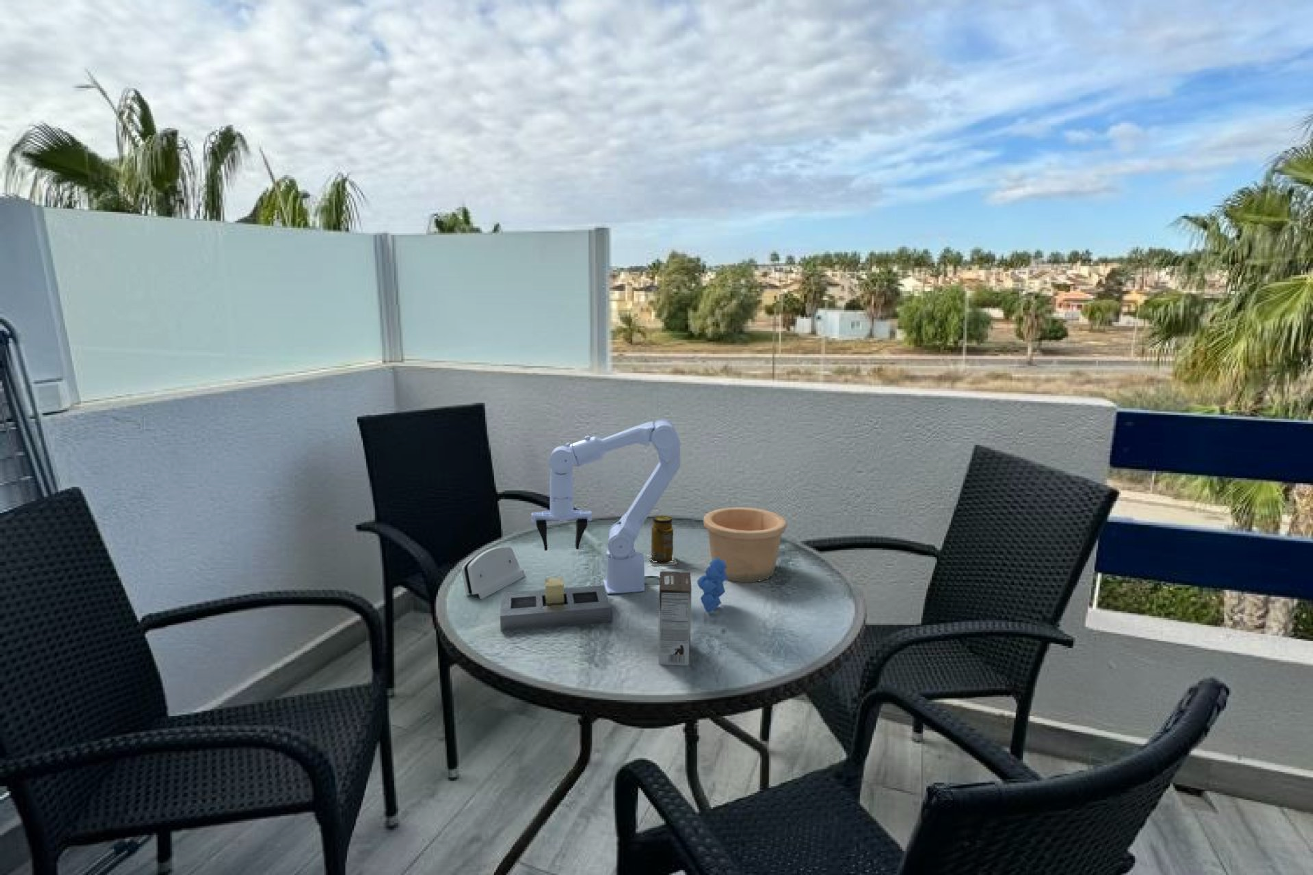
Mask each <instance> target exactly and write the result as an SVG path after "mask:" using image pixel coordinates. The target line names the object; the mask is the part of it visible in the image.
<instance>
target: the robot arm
mask: <svg viewBox="0 0 1313 875" xmlns="http://www.w3.org/2000/svg"><path fill="white" fill-rule="evenodd" d="M650 443H651V444H652V446H653V448H654V450H655V451H656V452H657V454H658V460H659V462H658V464H657V465H656V466H655V468H654V469H653V471H652V473H650V474H651V475H650V476H649V477H648V479H647V480H646V482H645V484H644V485H643V487H642V488H641V490H640V492H639V493H638V494H637V495H636V497H635V499H634V501H633V502H632V503H631V505H630V506H629V508H628V509H627V512H625V514H623V515H622V516H621V518H620V519H619V520H618V521H617V522H616V523H613V524H612V525H611V526H610V527H609V528H608V532H607V533H608V534H607V535H608V543H607V550H606V552H605V553H606V556H605V557H606V564H605V565H606V568H605V569H606V579H603V585H604V587H605V591H606V594H607V595H611V594H624V593H637V592H645V590H646V589H645V557H644V553H643V552H642V551H636V549H634V548H635V547H634V546H635V541H636V540H637V539H638V536H639V534H640V531H641V528H642V526H643V524H644V523H645V522H646V519H647V518H648V517H649V515H650V514H651V512H652V511H653V509H654V507H656V504H657V503H658V501H659V500H660V498H661V497H662V496H663V494H664V492H665V491H666V490H667V488H668V487H669V485H670V483H671V482H672V480H673V479H674V477H675V476H676V474H677V472H678V471H679V469H680V467H681V440H680V437H679V434H678V432H677V431H676V429H675V426H674V424H673V423H672V422H671V421H669V420H667V419H665V418H661V419H657V420H656V419H655V421H654V422H653V421H647V422H645V423H640V424H639V425H635V426H633V427H630V428H627V429H625V430H623V431H620V432H617V433H614V434H612V435H609V436H606V437H604V438H600V437H598V436H596V435H595V436H590V435H586V436H584V439H581V440H579V441H576V442H573V443H571V442H567V443H565V445H559V446H557V447H555V448H554V449H553V450H552V452H551V454H550V456H549V458H548V464H549V467H550V477H549V510H545V511H537V512H531V523H532V524H533V523H536V524H535V526H536V528H537V531H538V532H539V534H540V537H541V540H542V542H543V549H544V551H545V552H546V551H548V540H547V539H548V538H547V537H548V535H547V534H548V533H547V532H548V531H547V529H548V526H547V522H564V521H565V522H566V521H575V546H574V547H575V550H579V549H580V544H581V541H582V539H583V538H582V537H583V535H584V533H585V531H586V529H587V528H588V522H591V521H593V519H592V518H593V513H592V511H591V510H577V509H576V510H575V509H574V507H575V506H574V493H575V492H574V489H575V488H574V483H575V481H574V474H573V473H574V471H573V468H574V467H581V466H583V465H587V464H590V463H593V462H596V461H599V460H601V459H604V456H605V454H606V452H610V451H614V450H618V449H621V448H623V447H626V446H631V445H635V444H640V445H642V446H646V447H650Z"/></svg>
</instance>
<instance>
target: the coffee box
mask: <svg viewBox="0 0 1313 875" xmlns="http://www.w3.org/2000/svg"><path fill="white" fill-rule="evenodd" d="M658 590H659V591H658V665H661V666H663V665H664V666H666V665H667V666H690V661H691V659H690V658H691V634H692V633H691V629H692V627H691V626H692V622H691V621H692V591H693V589H692V577H691V572H689V571H687V572H685V571H676V570H675V571H674V570H673V571H672V570H671V571H669V570H667V571H666V570H665V571H664V570H663V571H662V570H661V571H659V586H658Z"/></svg>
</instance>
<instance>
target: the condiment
mask: <svg viewBox="0 0 1313 875" xmlns="http://www.w3.org/2000/svg"><path fill="white" fill-rule="evenodd" d="M650 544H651V545H650V546H651V550H650V551H651V552H650V554H651V556H652V557H651V558H648V557H647V559H648V560H649V559H652V560H653V561H657V562H653V561H652V560H649V561H650V565H652V566H656V567H657V566H660V567H661V566H670V565H678V564H679V562H678V561H677V560H676V558H675V557H674V558H673V559H674V560H672V555H673V553H674V527H673V519H672V517H671V516H669V515H657V516H654V517H653V519H652V527H651V543H650ZM646 556H650V555H647V554H646ZM673 556H674V555H673ZM669 561H673V562H669ZM677 563H678V564H677Z"/></svg>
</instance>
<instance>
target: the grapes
mask: <svg viewBox="0 0 1313 875" xmlns="http://www.w3.org/2000/svg"><path fill="white" fill-rule="evenodd" d="M726 568H727V567H726V565H725V562H724V561H723V560H721V559H719V558H715V559H713V560H711V561H710V563H709V566H708V567H707V568H706V569H705V570H704V574H705V575H702V576H701V577H699V578H698V579H697V581H696V582H697V585H698V588H699V589H701V590H702V592H703V594H702V595H701V597H700V601H701V603H702V606H703V609H704V610H705V611H706V612H707V613H712V612H713V611H715V609H717V608H718V606H720V604H721V603H722V602H721V599H720V597H721V596H722V595H724V593H726V590H725V587H724V586H725V585H724V582H725V581H726V580H727V575H726V573H725V571H724V570H725V569H726Z"/></svg>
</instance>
